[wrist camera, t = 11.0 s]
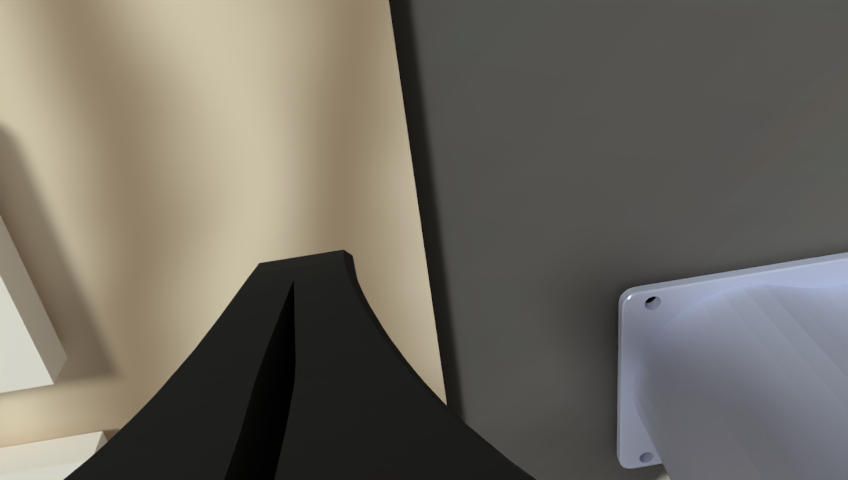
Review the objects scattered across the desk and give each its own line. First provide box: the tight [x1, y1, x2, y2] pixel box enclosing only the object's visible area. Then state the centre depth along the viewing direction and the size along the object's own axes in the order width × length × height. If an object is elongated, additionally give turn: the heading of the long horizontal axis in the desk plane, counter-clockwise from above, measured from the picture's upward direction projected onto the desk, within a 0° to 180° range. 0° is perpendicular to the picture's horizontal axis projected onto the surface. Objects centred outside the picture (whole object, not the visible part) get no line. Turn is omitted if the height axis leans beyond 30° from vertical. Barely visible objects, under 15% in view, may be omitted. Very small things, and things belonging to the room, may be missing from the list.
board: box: [0, 0, 447, 448], centre depth 23 cm, size 17×22×1 cm
